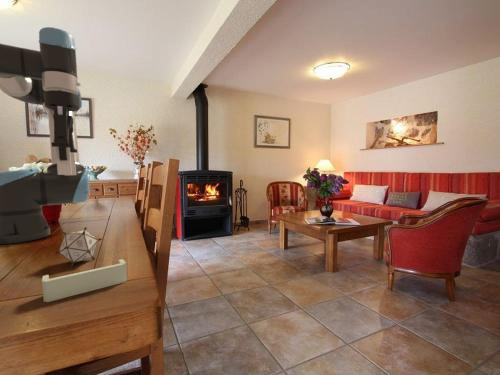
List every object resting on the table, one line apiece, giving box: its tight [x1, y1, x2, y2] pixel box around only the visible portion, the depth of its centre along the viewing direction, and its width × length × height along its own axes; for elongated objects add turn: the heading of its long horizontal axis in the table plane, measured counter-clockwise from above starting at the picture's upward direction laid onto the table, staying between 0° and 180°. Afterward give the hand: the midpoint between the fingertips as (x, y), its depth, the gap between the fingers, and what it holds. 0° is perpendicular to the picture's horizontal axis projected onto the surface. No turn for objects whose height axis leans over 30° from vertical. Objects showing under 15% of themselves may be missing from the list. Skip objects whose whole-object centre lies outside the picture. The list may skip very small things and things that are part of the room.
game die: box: [54, 226, 103, 267], centre depth 62 cm, size 9×8×10 cm
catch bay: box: [41, 258, 128, 303], centre depth 48 cm, size 4×13×4 cm, turn 127°
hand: (67, 175), depth 69 cm, fingers open, 13 cm apart
